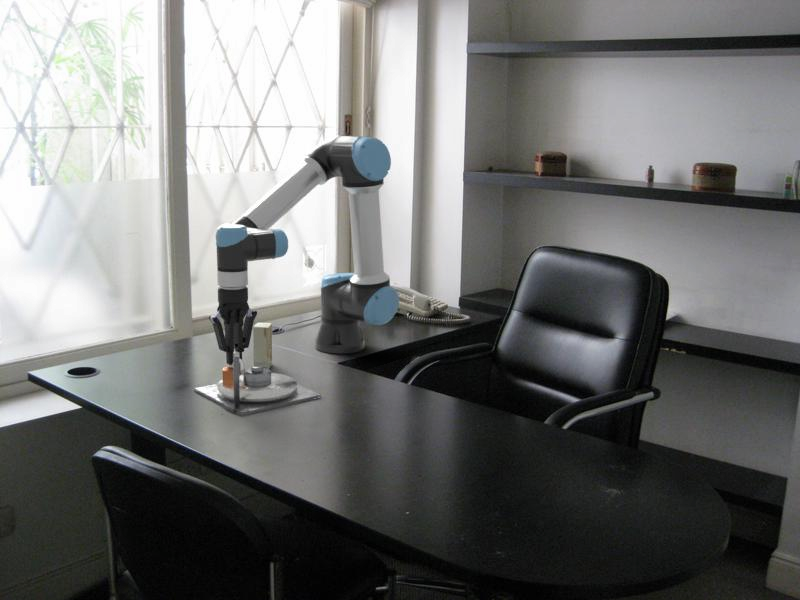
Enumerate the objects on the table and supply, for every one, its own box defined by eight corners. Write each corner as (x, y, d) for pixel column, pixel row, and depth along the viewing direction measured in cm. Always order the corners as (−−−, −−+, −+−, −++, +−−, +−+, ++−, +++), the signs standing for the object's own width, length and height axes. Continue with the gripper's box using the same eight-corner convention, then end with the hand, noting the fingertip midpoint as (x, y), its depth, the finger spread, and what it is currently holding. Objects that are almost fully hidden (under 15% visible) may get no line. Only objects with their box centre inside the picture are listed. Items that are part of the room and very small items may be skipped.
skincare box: (268, 370, 238) (268, 327, 235) (253, 369, 238) (252, 327, 235) (272, 363, 244) (272, 322, 242) (257, 363, 244) (257, 321, 242)
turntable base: (271, 375, 233) (271, 371, 233) (320, 397, 216) (320, 393, 216) (194, 391, 218) (194, 387, 218) (241, 416, 201) (240, 411, 201)
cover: (244, 379, 220) (243, 363, 219) (271, 379, 221) (271, 363, 220) (242, 387, 213) (242, 371, 212) (271, 387, 214) (270, 371, 213)
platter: (221, 377, 226) (220, 357, 224) (297, 377, 228) (297, 357, 227) (213, 402, 206) (212, 381, 205) (296, 401, 208) (296, 380, 207)
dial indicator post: (236, 404, 210) (236, 353, 207) (248, 410, 206) (247, 358, 203) (222, 407, 207) (221, 355, 204) (233, 413, 203) (233, 361, 200)
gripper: (247, 281, 222) (249, 368, 228) (202, 286, 214) (204, 376, 219) (262, 285, 217) (264, 374, 222) (217, 292, 209) (219, 384, 214)
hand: (234, 375), depth 221 cm, fingers closed
